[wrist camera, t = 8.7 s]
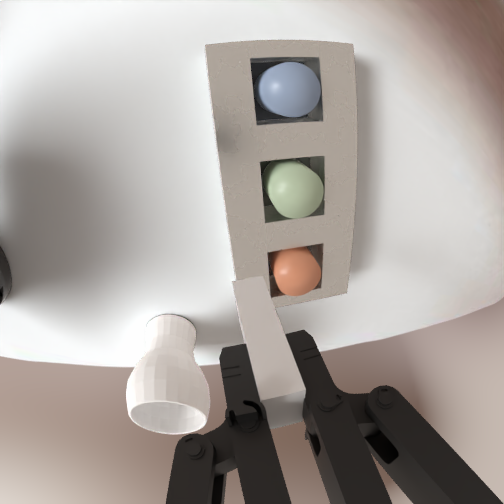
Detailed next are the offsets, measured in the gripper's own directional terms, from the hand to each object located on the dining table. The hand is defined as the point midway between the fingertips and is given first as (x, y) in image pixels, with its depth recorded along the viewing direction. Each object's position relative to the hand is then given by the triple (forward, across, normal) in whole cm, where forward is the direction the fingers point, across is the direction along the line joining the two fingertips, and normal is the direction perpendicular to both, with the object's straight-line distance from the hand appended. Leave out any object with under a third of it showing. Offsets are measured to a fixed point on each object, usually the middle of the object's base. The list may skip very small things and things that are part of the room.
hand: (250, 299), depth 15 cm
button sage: (+19, +7, 0) cm, 20 cm away
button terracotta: (+19, +7, -10) cm, 23 cm away
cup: (+20, -11, -21) cm, 31 cm away
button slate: (+19, +8, +10) cm, 22 cm away
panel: (+20, +8, 0) cm, 21 cm away
